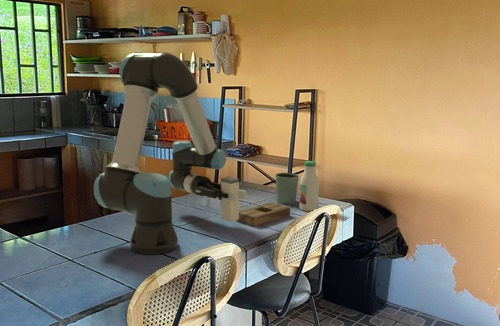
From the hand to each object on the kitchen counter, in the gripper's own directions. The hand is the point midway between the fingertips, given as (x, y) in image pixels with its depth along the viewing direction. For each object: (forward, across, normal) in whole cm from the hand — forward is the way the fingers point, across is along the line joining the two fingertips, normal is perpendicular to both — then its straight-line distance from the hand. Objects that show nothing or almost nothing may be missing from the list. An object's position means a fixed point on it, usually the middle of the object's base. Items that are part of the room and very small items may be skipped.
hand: (240, 196), depth 171 cm
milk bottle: (-1, -41, -14) cm, 43 cm away
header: (-5, -18, -13) cm, 23 cm away
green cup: (-15, -43, -14) cm, 48 cm away
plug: (-5, 0, -10) cm, 11 cm away
